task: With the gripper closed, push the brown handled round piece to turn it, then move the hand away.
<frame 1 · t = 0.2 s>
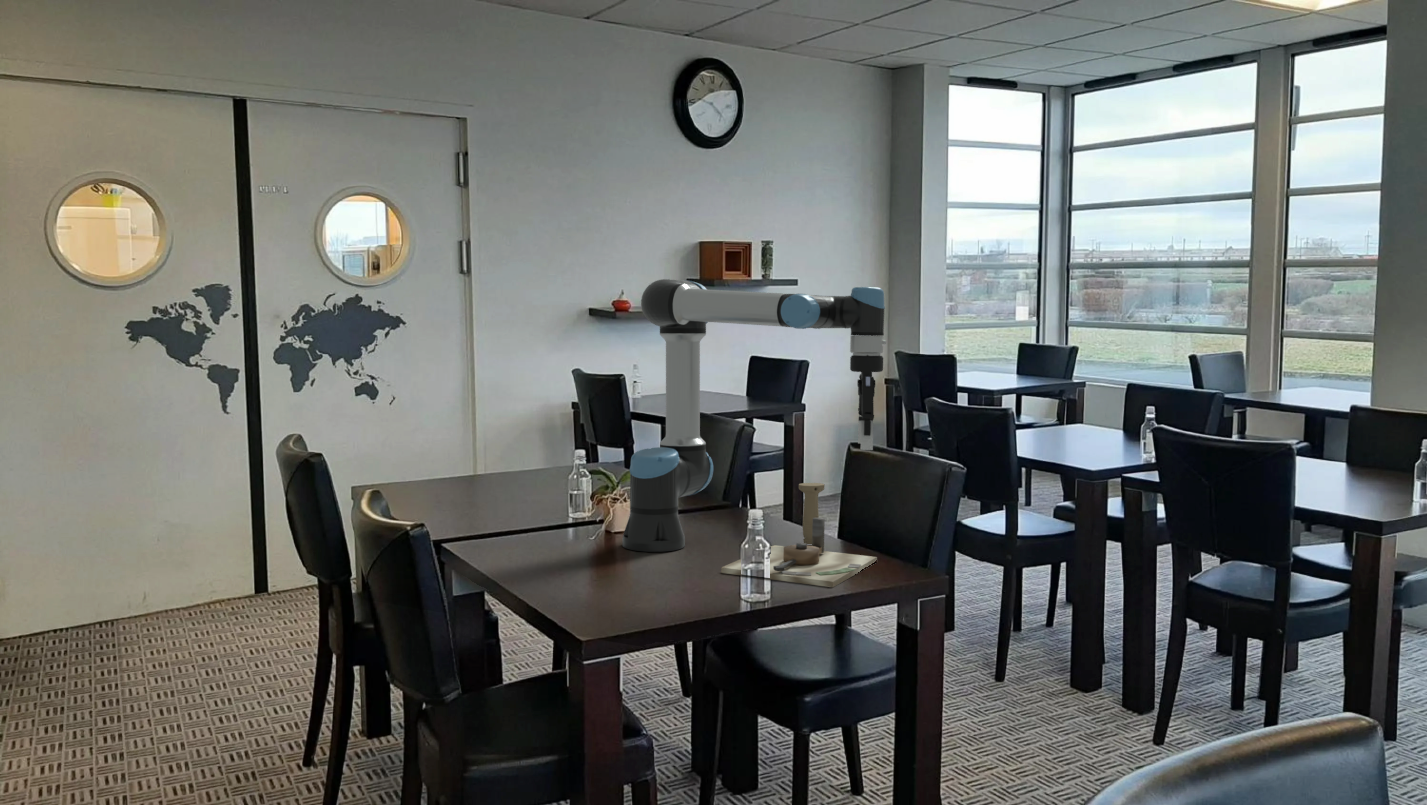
hand: (865, 446, 257), 26 cm above the table, fingers open, 13 cm apart
brown handled round piece: (799, 544, 248), point 5 cm above the table, hinge at 0.0°
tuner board: (801, 567, 249), on the table
handle: (810, 545, 275), on the table
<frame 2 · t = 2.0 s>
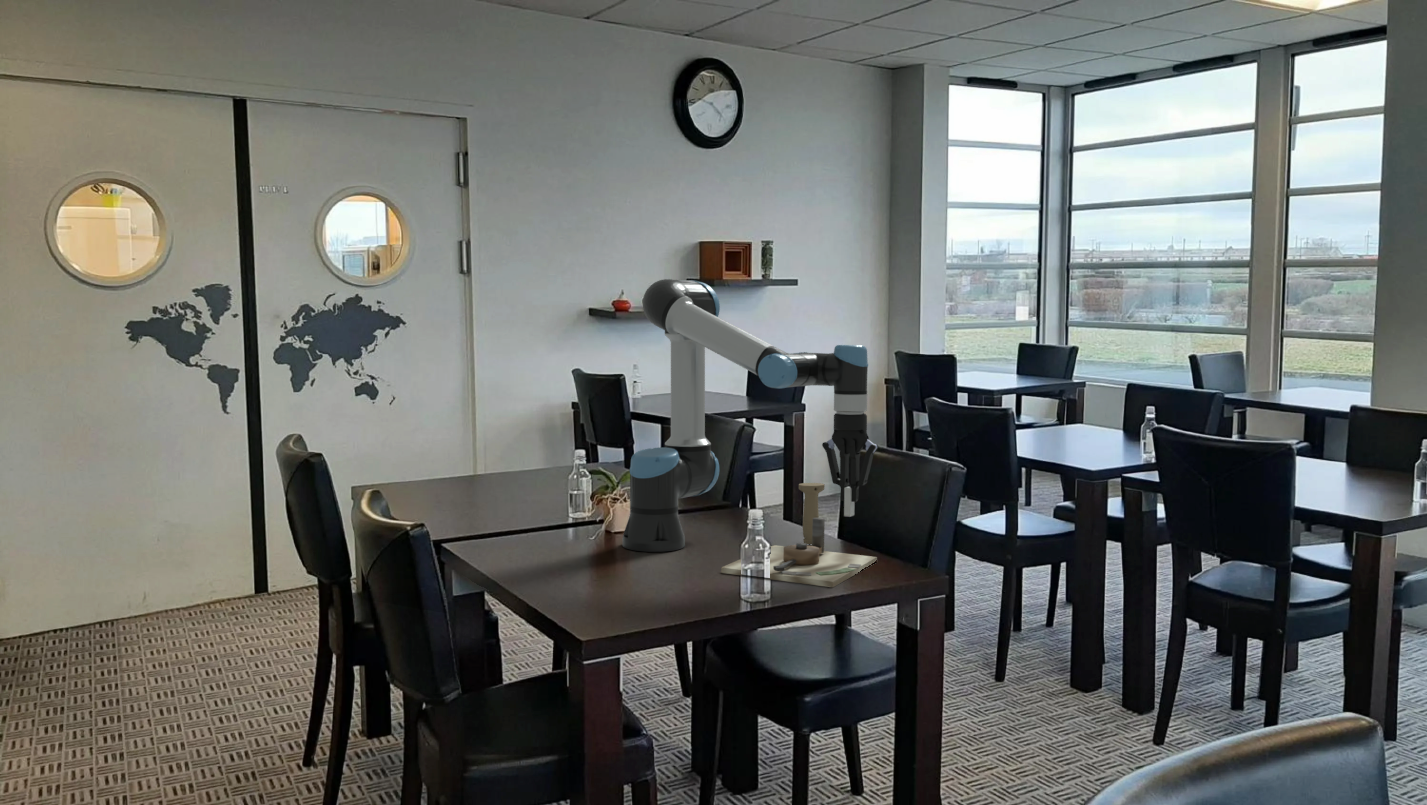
hand: (849, 515, 254), 11 cm above the table, fingers closed
nothing on the table moved.
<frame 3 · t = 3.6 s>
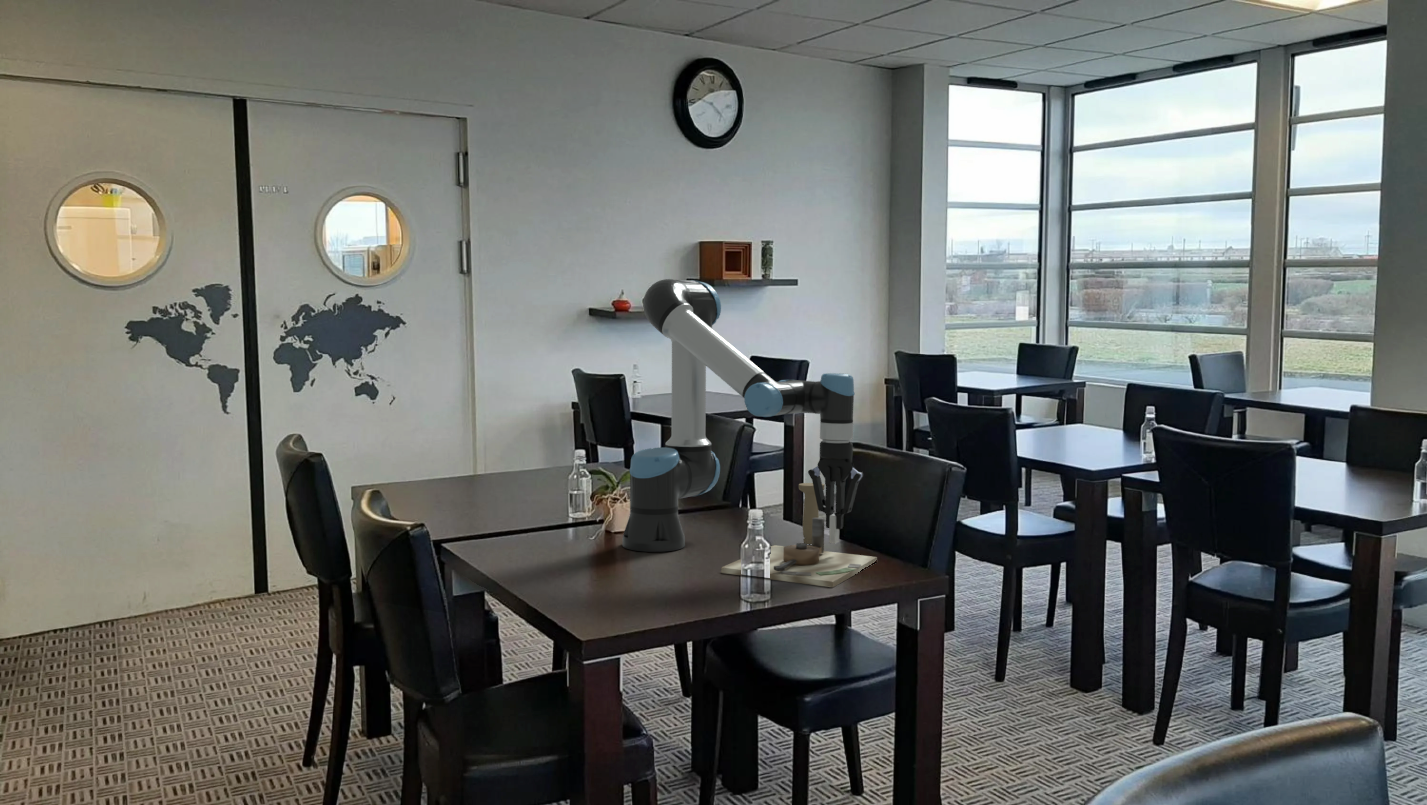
hand: (834, 542, 256), 4 cm above the table, fingers closed
brown handled round piece: (799, 544, 248), point 5 cm above the table, hinge at 0.3°, touching gripper
everything else where it was.
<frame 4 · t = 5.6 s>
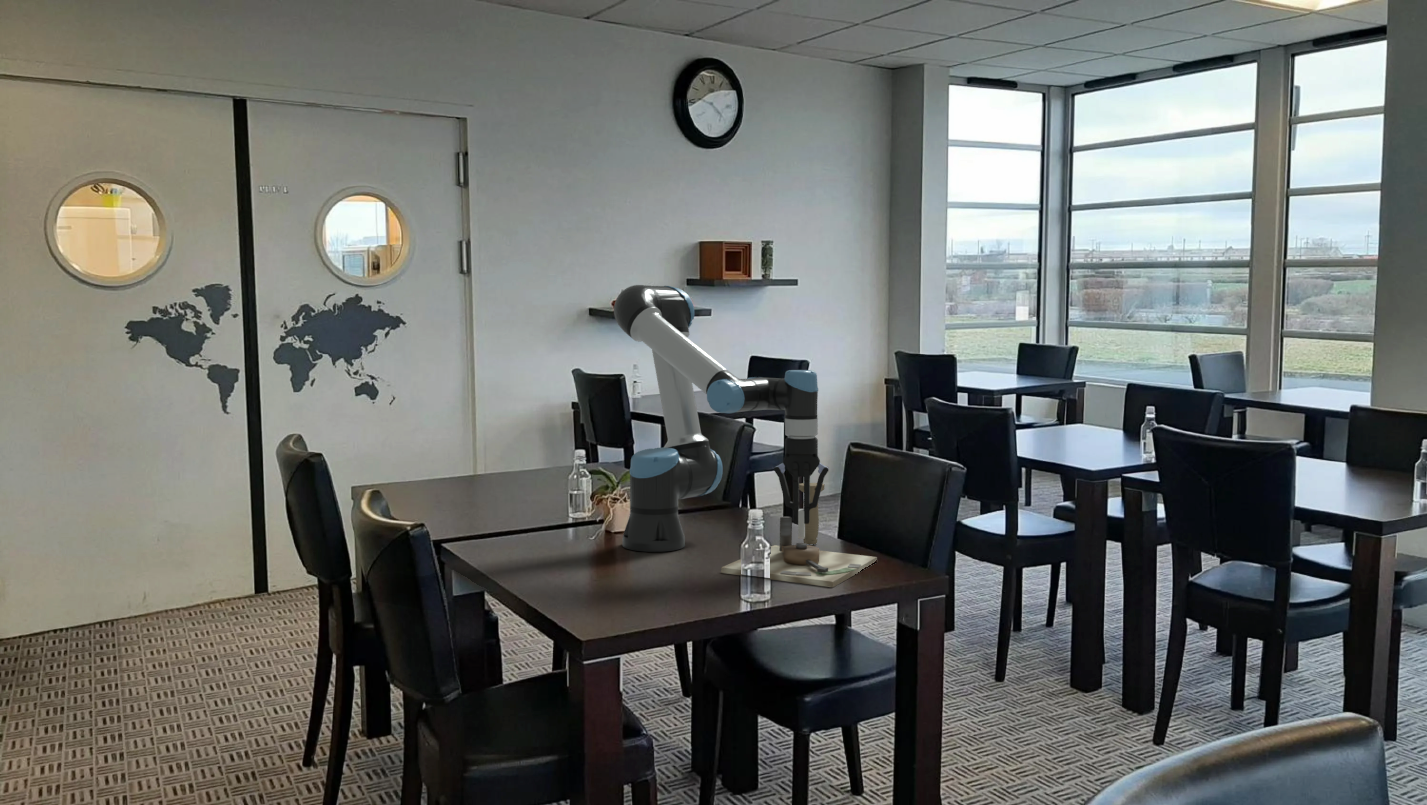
hand: (801, 537, 259), 5 cm above the table, fingers closed
brown handled round piece: (803, 544, 248), point 5 cm above the table, hinge at 44.3°, touching gripper
everything else where it was.
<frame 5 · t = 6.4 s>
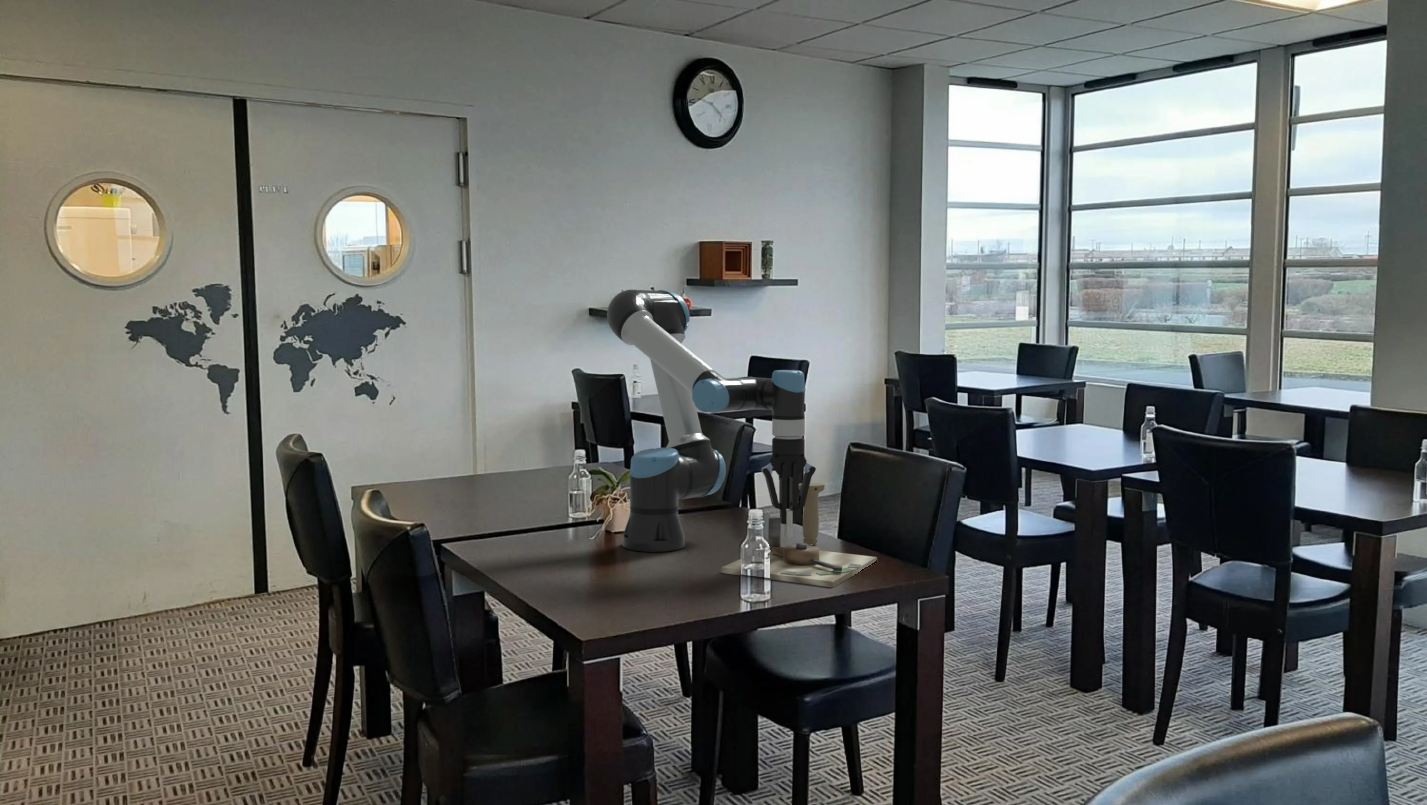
hand: (788, 537, 259), 5 cm above the table, fingers closed
brown handled round piece: (804, 544, 248), point 5 cm above the table, hinge at 61.7°, touching gripper
everything else where it was.
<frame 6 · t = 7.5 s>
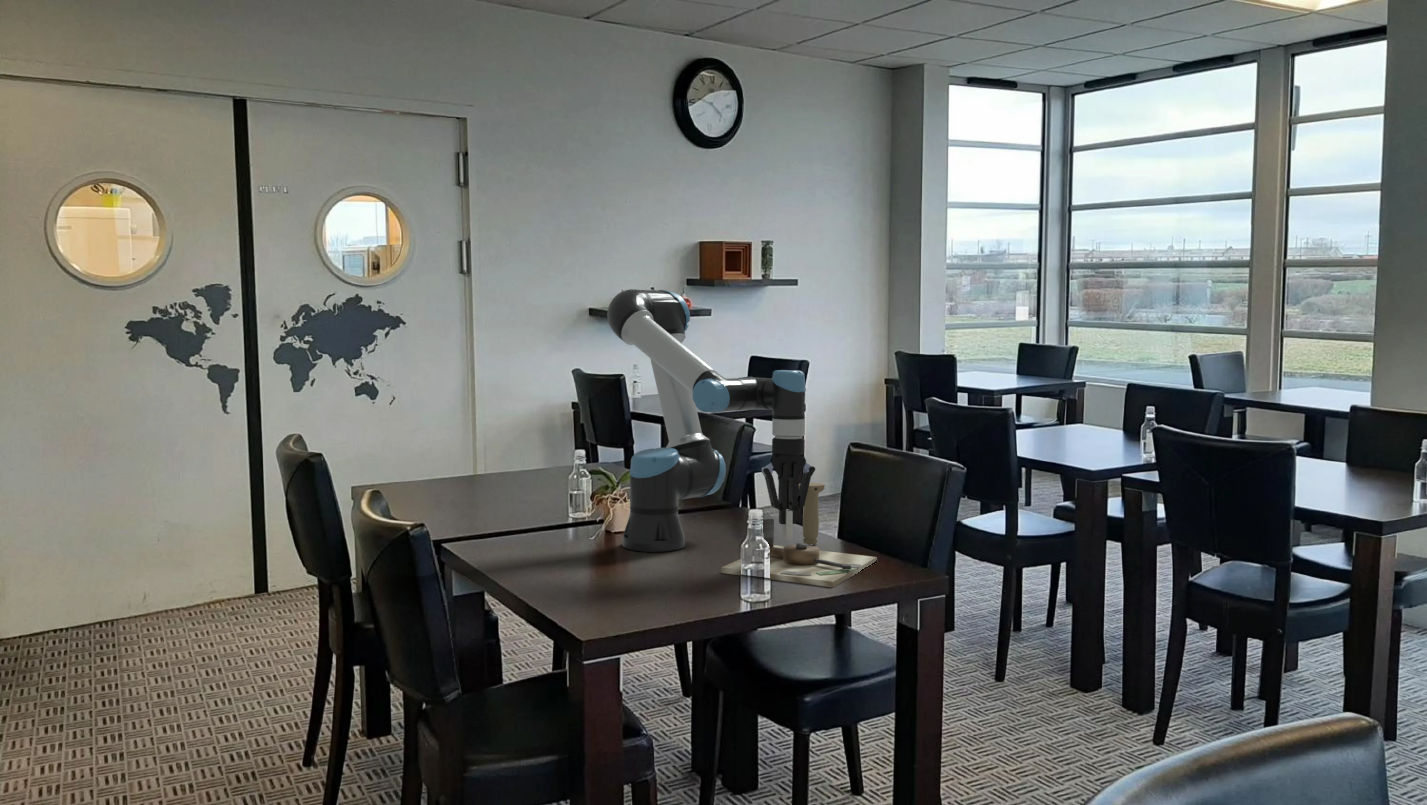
hand: (787, 537, 258), 5 cm above the table, fingers closed
brown handled round piece: (805, 543, 248), point 5 cm above the table, hinge at 74.2°
everything else where it was.
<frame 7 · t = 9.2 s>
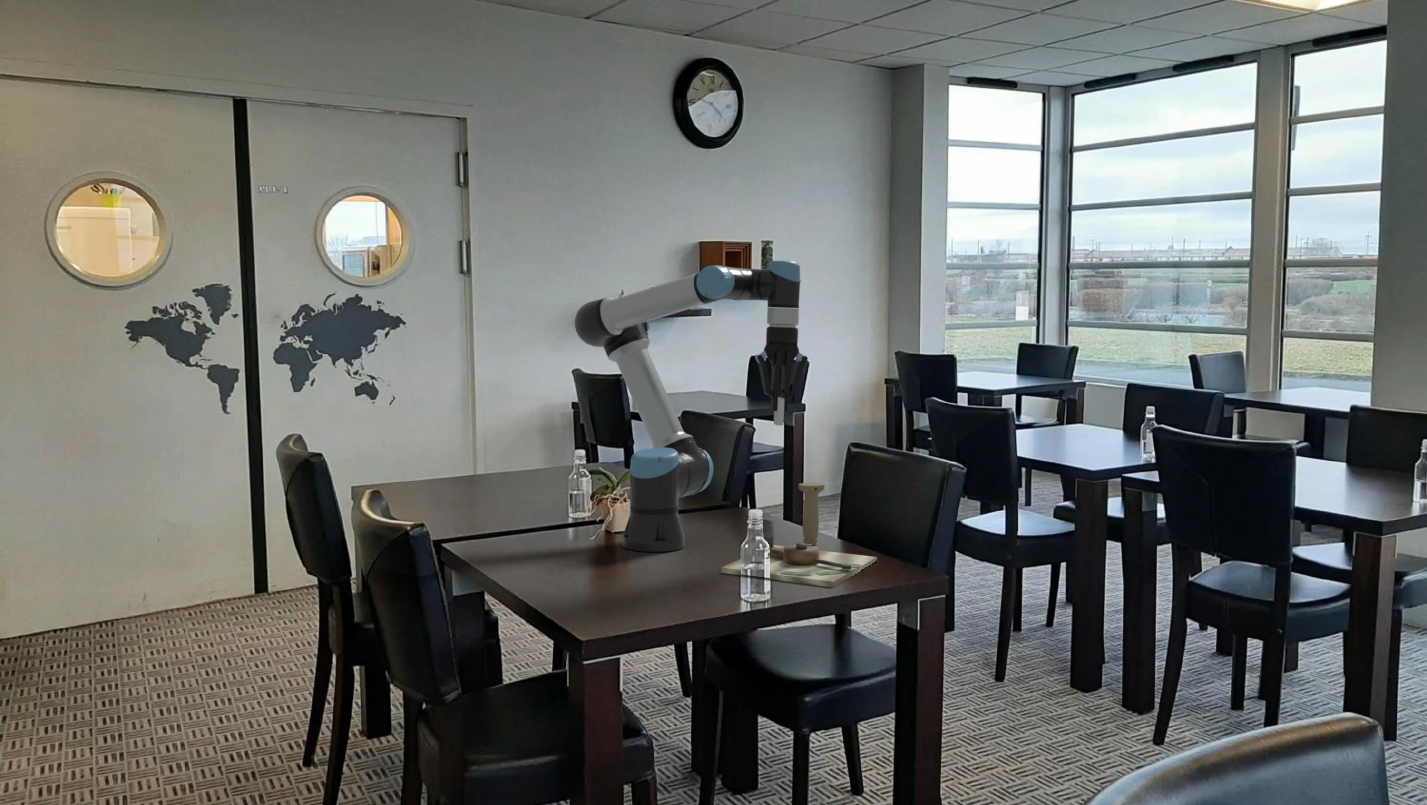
hand: (778, 424, 266), 30 cm above the table, fingers closed
nothing on the table moved.
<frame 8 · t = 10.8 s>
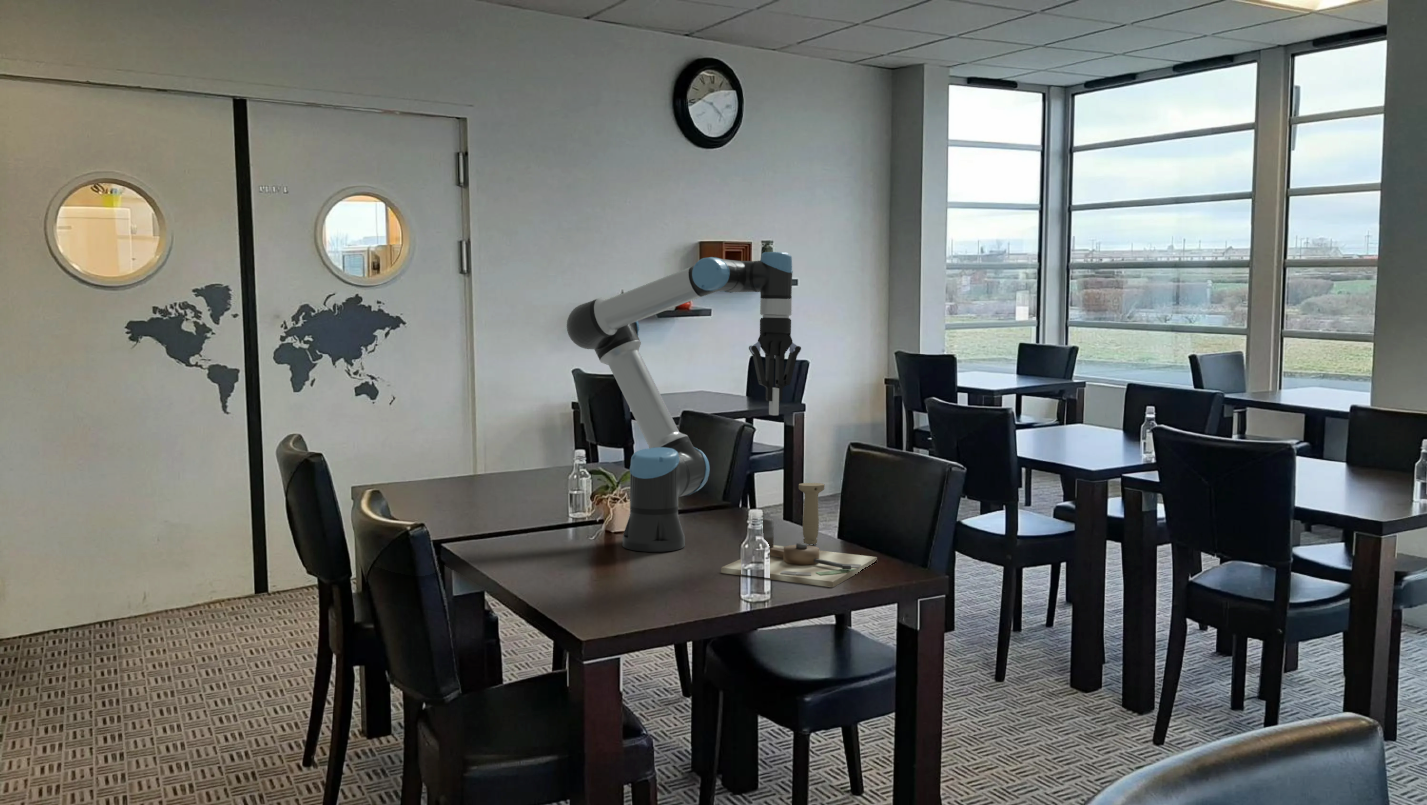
hand: (773, 414, 269), 32 cm above the table, fingers closed
nothing on the table moved.
at the end: brown handled round piece at +74° (first picture: +0°) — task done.
